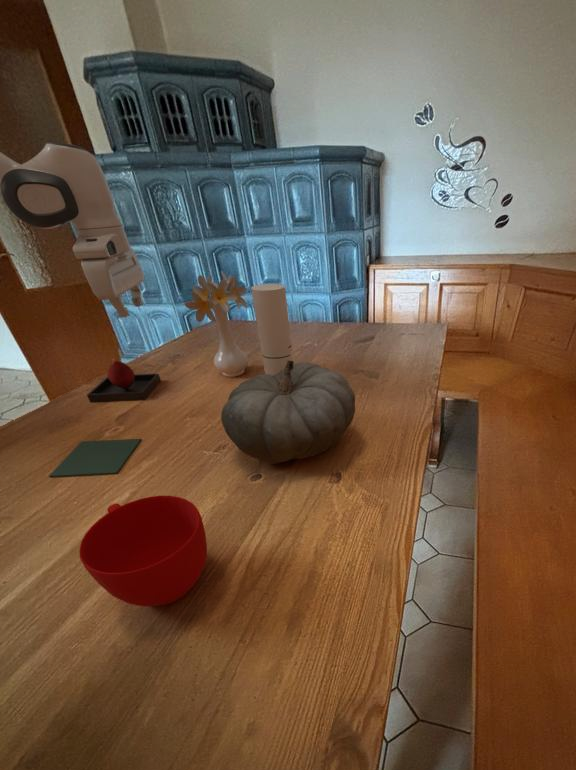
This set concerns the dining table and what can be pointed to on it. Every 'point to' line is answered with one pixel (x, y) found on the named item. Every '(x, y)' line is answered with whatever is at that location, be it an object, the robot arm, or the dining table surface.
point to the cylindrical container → (273, 326)
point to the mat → (96, 458)
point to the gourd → (289, 412)
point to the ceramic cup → (147, 550)
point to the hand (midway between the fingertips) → (132, 311)
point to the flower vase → (221, 319)
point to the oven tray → (114, 393)
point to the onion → (120, 374)
